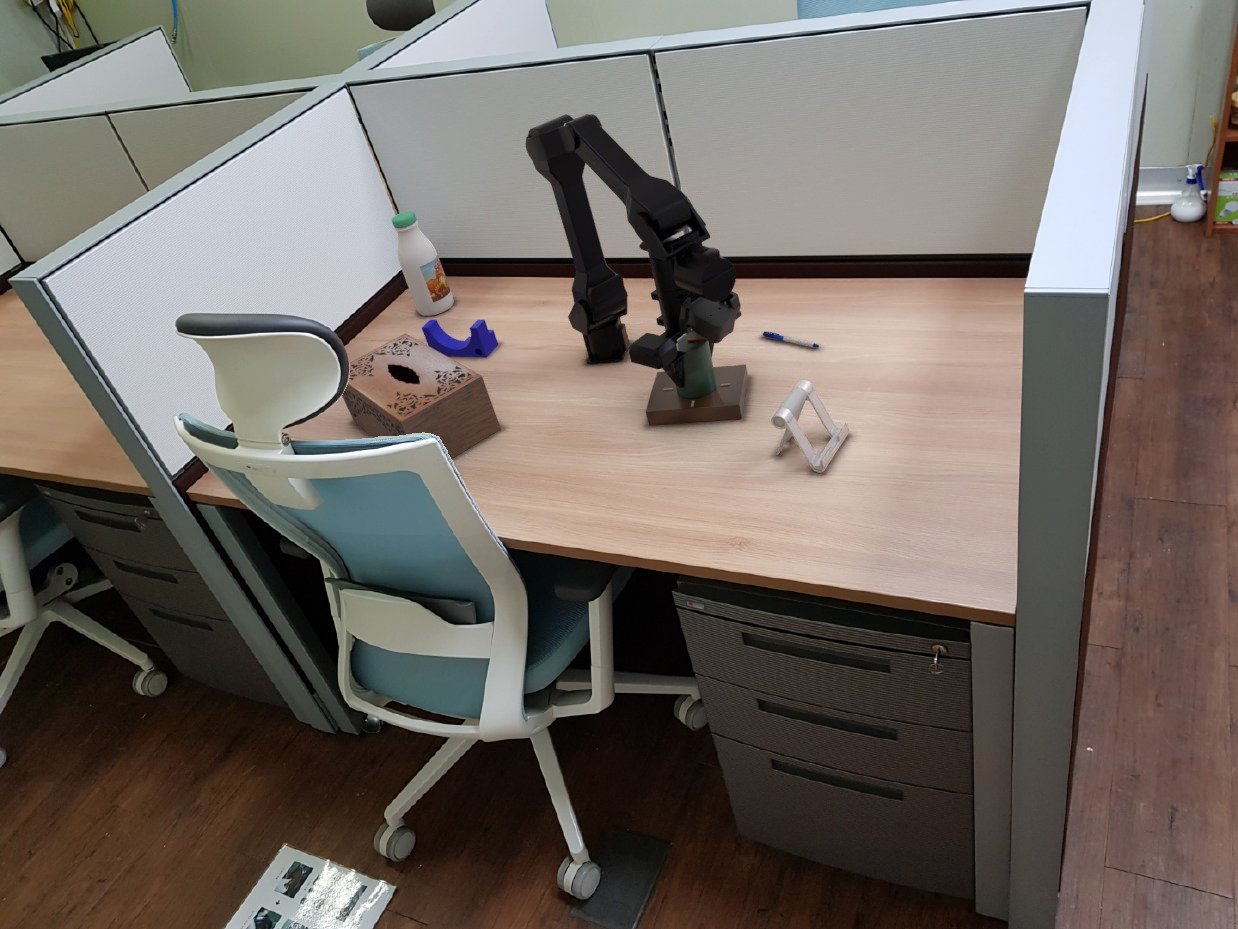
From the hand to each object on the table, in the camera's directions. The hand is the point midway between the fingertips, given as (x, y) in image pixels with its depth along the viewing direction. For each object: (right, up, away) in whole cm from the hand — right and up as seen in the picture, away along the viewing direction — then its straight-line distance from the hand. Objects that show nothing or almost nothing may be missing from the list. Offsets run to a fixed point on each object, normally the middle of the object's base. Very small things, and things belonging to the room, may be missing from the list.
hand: (694, 376), depth 138 cm
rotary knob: (0, -2, +1) cm, 2 cm away
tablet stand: (+15, -11, -13) cm, 23 cm away
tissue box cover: (-43, -7, +15) cm, 46 cm away
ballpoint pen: (+16, +6, +11) cm, 20 cm away
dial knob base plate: (+1, -4, +3) cm, 4 cm away
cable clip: (-40, +8, +34) cm, 52 cm away
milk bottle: (-49, +19, +52) cm, 73 cm away
